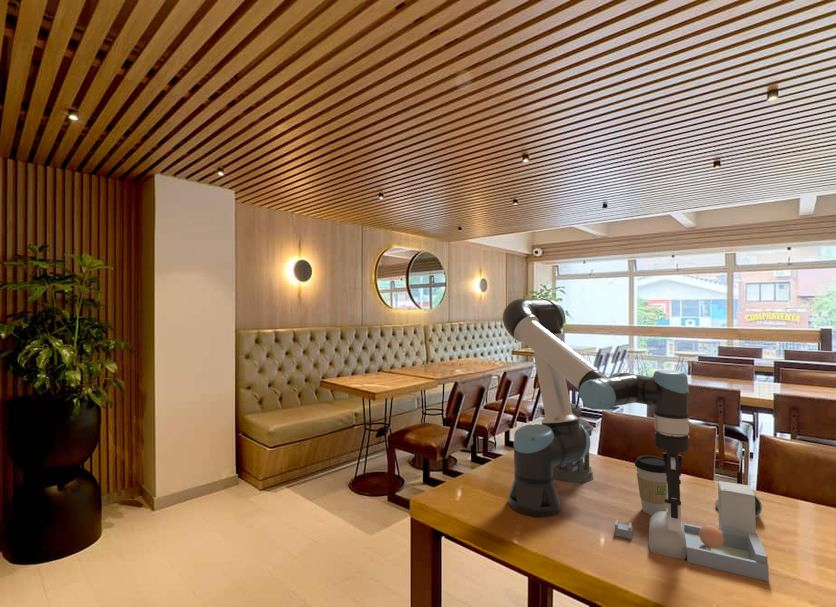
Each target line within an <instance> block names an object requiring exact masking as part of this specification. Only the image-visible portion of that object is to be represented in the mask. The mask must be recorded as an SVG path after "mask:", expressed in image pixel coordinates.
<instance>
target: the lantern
mask: <svg viewBox="0 0 836 607" xmlns="http://www.w3.org/2000/svg"><path fill="white" fill-rule="evenodd" d="M565 379H566V378H565ZM566 381H568V380H567V379H566ZM573 386H574V385H573ZM574 388H575V390H577V393H578V394H577V399H576V403H573V402H570V404H571V410H572V413H573V414H574V415H575V416H576V417H578V420H579V424H581V425H583V426H584V429H586V430H587V431H588V434H589V436H590V437H591V436H592V435H593V434H592V431H594V427H593V424H591V423H590V422H589V421H587V420H586V419H583V418H582V417H581V416H582V407H581V406H580V405H579V404H580V399H581V398H580V396H579V390H578V389H577V388H576V387H575V386H574ZM592 469H593V468H592V466H590V451H589V452H588V453H587V455H586V456H585V457H584V458H582V459H580V460H578V461H576V462H573V463H567V464H564V465H560V466H556V467H554V480H556V481H557V480H558V481H561V482H565V483H569V484H570V483H571V484H572V483H573V484H575V483H576V484H577V483H578V484H579V483H580V484H582V483H587V482H590V481H593V480H594V479H595V478H594V472H593V471H592Z"/></svg>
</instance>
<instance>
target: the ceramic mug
mask: <svg viewBox="0 0 836 607" xmlns="http://www.w3.org/2000/svg"><path fill="white" fill-rule="evenodd" d="M753 492H754V495H755V519H756V518H758V517H759V516H760V515H761V513H762V510H763V505H762V502H761V500H760V498H759V497H758V496H757V493H755V491H754V490H753ZM714 505H715V507H716V509H717V510H719V504H718V499H717V500H715V502H714Z"/></svg>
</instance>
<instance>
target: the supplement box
mask: <svg viewBox="0 0 836 607" xmlns="http://www.w3.org/2000/svg"><path fill="white" fill-rule="evenodd" d="M753 491H754V490H753V488H752V486H751V485H747V484H742V483H737V482H736V483H735V482H727V481H722V480H718V482H717V495H718V496H717V498H718V499H717V500H718V504H719V509H718V529H719V530H720V531H724V532H729V533H734V534H738V535H743V536H747V532H752V533H757V530H756V529H757V527H756V522H757V521H756V518H755V495H754V492H755V491H754V492H753Z"/></svg>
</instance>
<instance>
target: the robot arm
mask: <svg viewBox="0 0 836 607" xmlns="http://www.w3.org/2000/svg"><path fill="white" fill-rule="evenodd" d="M502 323H503V326H504V328H505V330H506V332H507V333H508V334H509V335H510V336H511V337H512V338H513V339H515V340H516V341H517V342H519V343H522V342H523V343H524V344H525V345H526V346H527V347H528V348H530V349H531V350H532V351H533V356H534V363H535V366H536V367H535V368H536V372H537V377H538V382H539V384H538V385H539V388H540V395H541V399H542V400H541V401H542V405H543V411H544V417H543V419H542V420H541V424H540V423H538V424H537V423H535V424H526V425H522V426H520V427H519V428H517V429H516V430H515V432H514V435H513V443H512V444H513V460H514V461H513V463H514V464H513V466H514V467H513V468H514V470H513V471H514V472H513V473H514V479H513V482H512V484H511V487H510V488H511V489H510V491H509V494H508V504H509V506H510V508H512V509H513V510H514V511H515V512H517V513H520V514H523V515H525V516H530V517H537V518H539V517H540V518H543V517H551V516H554V515H556V514H558V513H559V512H560V510H561V500H560V496H559V493H558V490H557V488H556V487H557V486H556V484H555V479H554V467H556V466H560V465H564V464H567V463H573V462H576V461H578V460H580V459H582V458H583V459H584V457H585V456H586V455H587V453H588V452H589V453H590V449H591V436H589V434H588V431H587V430H586V429H584V426H583V425H581V424H579V420H578V417H576V416H575V415H574V414H573V413H572V410H571V404H570V403H571V401H570V400H571V399H570V395H569V391H568V389H569V388H568V385H567V381H568V382H569V383H570V384H571V385H572V386H575V387H576V388H577V389H578V390H579V396H580V399H581V402H582V404H583V405H584V407H586V408H588V409H590V410H607V409H610V408H614V407H619V406H625V405H629V404H641V405H647V406H652V407H653V410H654V413H653V414H654V415H653V418H654V421H653V423H654V424H653V426H654V430H655V432H654V444H655V447H656V448H659V449H660V450H664V451H665V452H663V453H662V456H663V457H662V458H663V459H664V464H665V473H666V476H667V479H666V481H667V482H668V483H666V486H667V499H665V503H667V512H668V530H673V531H678V532H681V522H682V512H681V510H682V501H681V486H680V485H681V483H682V482H681V481H682V480H681V479H680V478H681V476H682V467H681V466H682V465H683V459H682V455H681V454H678V453H685V452H688V451H689V450H690V449H691V448H690V436H689V433H690V426H692V424H693V422H692V420H690V419H689V417H690V414H689V413H690V412H689V393H690V389H689V383H688V382H689V381H688V376H687V374H686V373H685V372H683V371H679V370H669V369H658V370H655V371H654V372H653V376H647V375H641V374H634V373H630V372H615V373H613V374H612V375H611V376H607V375H605V373H602V372H601V371H600V370H599V369H597V368H596V367H595V366H594V365H592V364H591V363H590V362H588V361H587V360H586V359H585V358H583V356H581V355H580V354H579V353H577V352H576V351H574V349H572V348H571V347H570V346H568V345H567V344H566V343H565V342H563V341H562V340H561V339H560V338H561V337H562V329H563V328H564V327H565V326H564V324H566V313H565V310H564V309H563V307H562V305H561V304H560V303H559V302H557V301H555V300H553V299H548V298H519V299H515V300H512V301H511V302H509V303H508V304H507V305H506V306H505V308H504V310H503V313H502ZM565 378H566V379H567V380H566V379H565ZM575 387H574V388H575ZM576 388H575V389H576ZM577 389H576V390H577ZM578 390H577V391H578Z"/></svg>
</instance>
